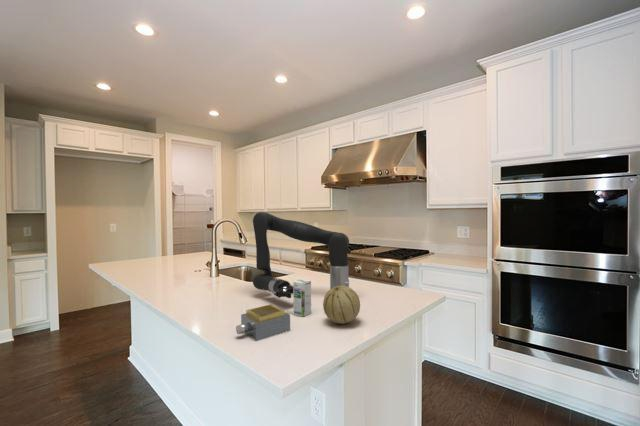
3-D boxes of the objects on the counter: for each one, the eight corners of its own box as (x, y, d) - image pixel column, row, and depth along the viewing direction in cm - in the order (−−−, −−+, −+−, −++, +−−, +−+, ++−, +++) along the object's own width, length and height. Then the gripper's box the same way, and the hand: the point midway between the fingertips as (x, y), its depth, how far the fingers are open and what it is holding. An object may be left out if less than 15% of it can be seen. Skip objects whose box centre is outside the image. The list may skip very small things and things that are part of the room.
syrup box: (292, 314, 131) (292, 281, 131) (301, 310, 136) (301, 278, 136) (303, 317, 128) (303, 282, 128) (311, 313, 133) (311, 280, 133)
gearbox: (273, 321, 123) (273, 303, 123) (290, 330, 114) (290, 310, 114) (231, 333, 112) (230, 312, 112) (245, 344, 103) (245, 322, 103)
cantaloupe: (364, 319, 125) (364, 282, 125) (353, 332, 112) (353, 291, 112) (331, 314, 131) (331, 279, 131) (317, 326, 118) (316, 287, 118)
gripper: (266, 281, 142) (284, 288, 130) (291, 277, 151) (311, 283, 138) (266, 297, 142) (284, 305, 130) (292, 292, 151) (311, 299, 139)
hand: (298, 294), depth 134 cm, fingers open, 8 cm apart
